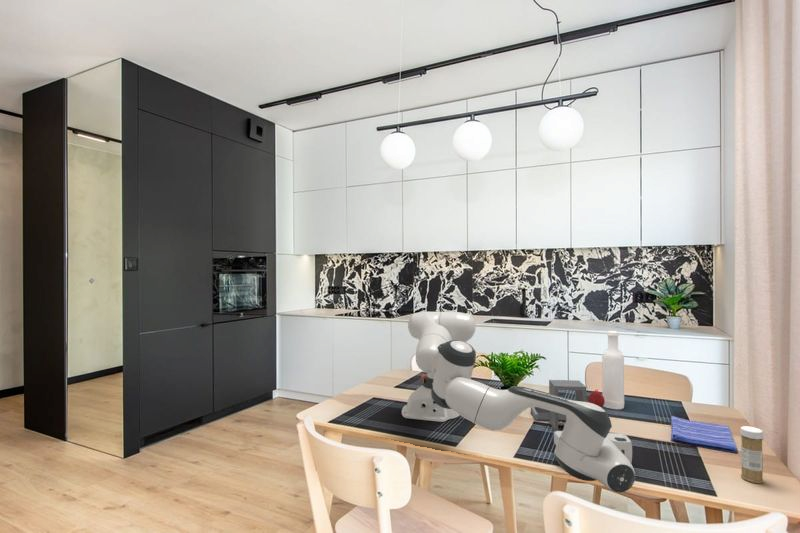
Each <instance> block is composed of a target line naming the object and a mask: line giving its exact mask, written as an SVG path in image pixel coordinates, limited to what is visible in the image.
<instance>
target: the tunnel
mask: <svg viewBox="0 0 800 533" xmlns="http://www.w3.org/2000/svg"><path fill="white" fill-rule="evenodd" d="M548 387H549V388H548V393H549V394H553V395H557V396H559V391H575V400H577V401H582V402H587V386H586V385H585V384H583V383H582V382H581V381H580V380H571V379H570V380H564V379H548ZM548 422H549V424H550V425H551V427H552V428H553V430H554V431H555V432H556V431H559V422H558V413H557V412H553V411H550V410H549V421H548Z"/></svg>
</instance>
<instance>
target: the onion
mask: <svg viewBox="0 0 800 533" xmlns="http://www.w3.org/2000/svg"><path fill="white" fill-rule="evenodd" d="M587 400H588V401H587V402H589V403H593V404H595V405H598V406H599V407H601V408H603V407H604V406H603V405H604V403H605V399H604V397H603V395H602V393H601V392H599V390H598V389H597V388H595V390H594V391H592V392H591V393H590V394H589V396H588V399H587Z"/></svg>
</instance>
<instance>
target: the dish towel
mask: <svg viewBox="0 0 800 533" xmlns="http://www.w3.org/2000/svg"><path fill="white" fill-rule="evenodd" d="M670 426H671V431H670V432H671V433H670V440H671V442H674V443H677V444H684V445H689V446H694V447H699V448H704V449H711V450H716V451H720V452H724V453H725V452H726V453H732V454H737V453H738V447H737V445H736V442H735V440H734V437H733V434H732V432H731V429H730V427H729V425H725V424H718V423H709V422H704V421H696V420H690V419H689V420H688V419H686V418H682V417H677V416H674V415H671V422H670Z"/></svg>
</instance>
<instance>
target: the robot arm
mask: <svg viewBox="0 0 800 533" xmlns="http://www.w3.org/2000/svg"><path fill="white" fill-rule="evenodd" d="M407 329H408V333H409V334H410V336H411V337H412V338H413V339H416V340H419V341H418V343H417V345H416V350H415V363H416V365H417V367H418V369H419V370H421V372H424V373H426V374H422V375H421V378H420V379H421V386H420V387H418V388H417V389H415V390H414V391H413V392H411V393H410V395H409V397H408V400H407V404H405V405H403V407H402V408H401V415H402V417H403V418H405V419H410V420H411V419H412V420H421V421H430V422H440V423H442V422H446V421H448V420H451V419H456V418H458V417H459V416H462V418H464V419H466V420H468V421H469V422H472V423H473V424H475V425H477V426H479V427H480V428H483V429H486V430H488V431H491V432H497V431H502V430H503V429H505V428H507V427H509V426H510V425H511V424H513V422H514V421H515V420H516V419H517V418H518V417H519V416H520V414H522V413H523V412H524V411H526V410H527V409H531V407H539V408H542V409H546V410H550V411H553V412H557V413H560V414H564V415H566V416H567V421H566V423H565V426H564V425H563V428H562V430H558V431H556V430H555V431H554V433H553V443H554V445H555V449H554V451H553V455H554V457H555V460H556V462H557V463H558V464H559V466H560V467H561V469H562V470H564V471H565V473H567V474H568V475H570V476H572V477H574V478H576V479H578V480H580V481H585V482H594V481H597V482H599V483H600V484H602V485H604V487H606V488H607V489H608V490H610V491H612V492H614V493H625V492H627V491H629V490H630V489H631V488H632V487H633V486H634V483H635V481H636V472H635V469H634V466H633V465H632V460H633V444H632V441H631V439H630V438H629V437H628V435H626V434H623V433H619V432H618V433H614V432H611V431H610V430H611V429H612V426H613V425H612V421H611V418H610V416H609V414H608V412H607V411H606V409H604V408H603V407H599V406H598V405H595V404H593V403H589V401H586V402H582V401H577V400H576V399H572V398H568V397H564V396H561V395H558V396H557V395H553V394H549V392H545V391H541V390H537V389H534V388H530V387H524V386H520V385H512V386H510V387H509V388H507V389H497V388H495V387H491V386H489V385H487V384H485V383H482V382H480V381H476V380H474V379H472V377H473V376H472V375H473V371H474V365H475V364H476V360H477V353H476V350H475V348H474V347H473V346H472V345H471V344H469V343H468V341H469V340H471V339H472V338H473V336H474V334H475V333H476V322H475V320H474V318H473V316H472V315H471V314H469V313H464V312H461V311H460V312H459V311H419V312H415V313H412V315H411V316H410V317H409V319H408V322H407Z"/></svg>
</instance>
